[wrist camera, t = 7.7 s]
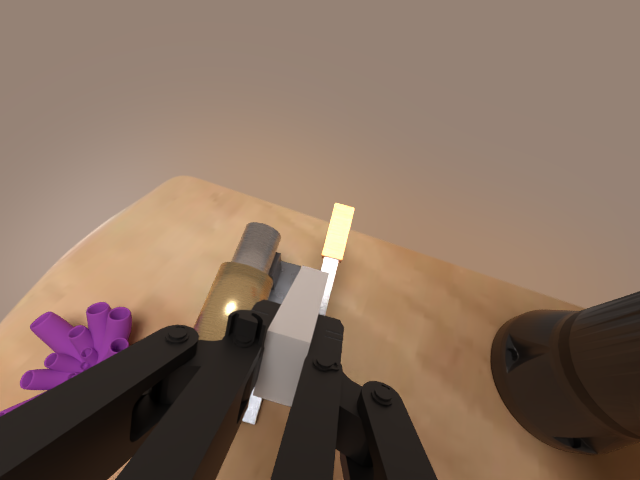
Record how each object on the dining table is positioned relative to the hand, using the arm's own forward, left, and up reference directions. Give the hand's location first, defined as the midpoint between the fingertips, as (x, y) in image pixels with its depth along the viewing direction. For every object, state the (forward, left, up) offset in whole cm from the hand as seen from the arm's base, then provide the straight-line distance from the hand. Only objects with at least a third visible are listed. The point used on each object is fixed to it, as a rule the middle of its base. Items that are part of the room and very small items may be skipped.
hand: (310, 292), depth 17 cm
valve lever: (-1, -1, -15) cm, 15 cm away
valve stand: (+4, +3, -22) cm, 23 cm away
